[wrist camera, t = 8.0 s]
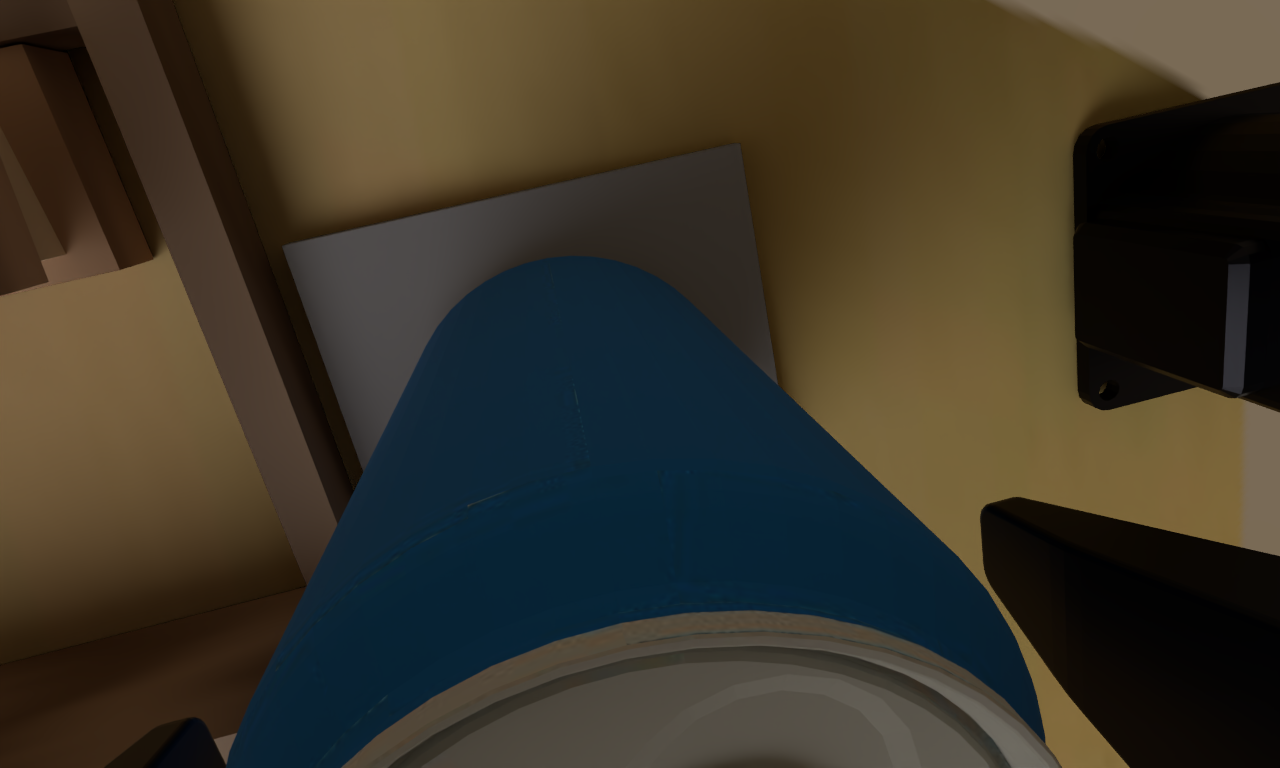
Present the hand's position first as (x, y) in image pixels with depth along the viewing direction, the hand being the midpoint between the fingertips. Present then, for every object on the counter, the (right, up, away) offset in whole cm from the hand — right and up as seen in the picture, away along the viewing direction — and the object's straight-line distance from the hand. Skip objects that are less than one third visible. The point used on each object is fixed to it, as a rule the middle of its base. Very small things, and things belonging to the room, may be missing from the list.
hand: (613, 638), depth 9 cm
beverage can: (-1, +3, +8) cm, 8 cm away
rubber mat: (-1, +3, +8) cm, 8 cm away
